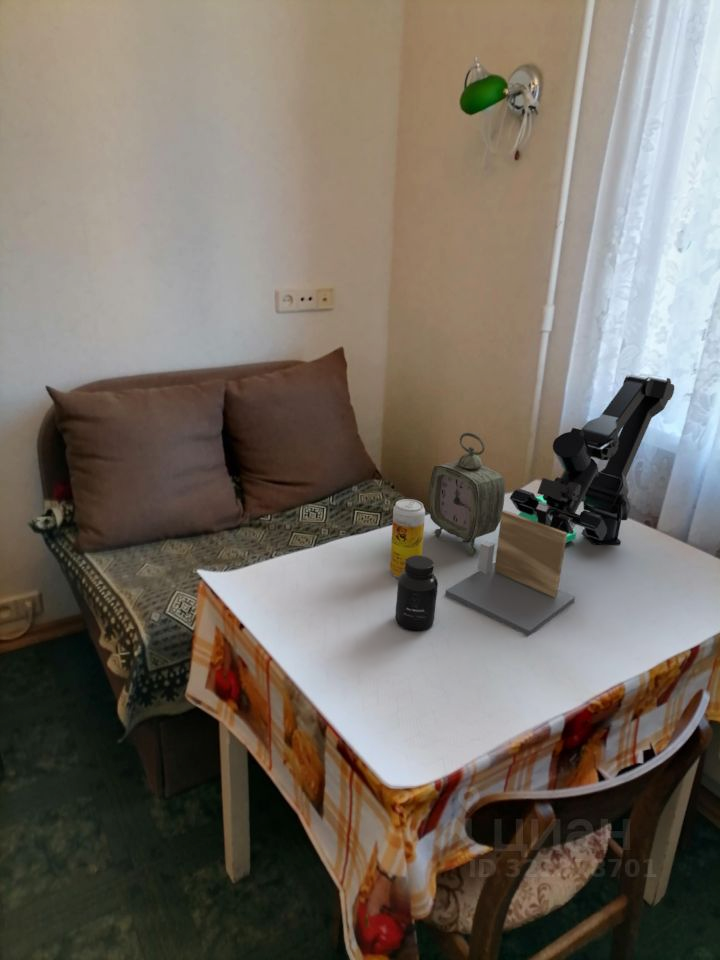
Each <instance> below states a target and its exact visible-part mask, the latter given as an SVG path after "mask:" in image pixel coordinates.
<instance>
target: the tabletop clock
mask: <svg viewBox="0 0 720 960" xmlns="http://www.w3.org/2000/svg"><path fill="white" fill-rule="evenodd" d="M464 437H471V438H474V439H476V440H477V441H479V443H480V445H481V447H482V448H481V451H476V450H475V447H474V446H469V447H467V446H465V445H464V444H463V439H464ZM459 445H460V446H461V448H462V449H463V450H464V451H465V452H467V453H466V454H462V455H461V456H460V457H459V460H458V459H457V460H455V461H450V462H447V463H443V464H438V465H435V466H434V467H433V469H432V472H431V477H430V483H429V490H428V511H429V517H430V519H431V521H432V522H433V523H434V524H435V525H436V526H438V527H439V528H436V529H435V530H434V532H433V533H434V535H435V536H436V537H439V536H441V535H442V531H443V530H444V531H445V532H447V533H449V534H450V535H453V536H456V537H457V538H459V539H462V540H465V541H466V540H467V541H470V548H469V549H468V554H469V555H470V556H474V555H476V554H477V549H476V547H475V541H476V539H477V538H479V537H482V536H485V535H488V534H491V533H495V531H496V530H497V528H498V526H499V525H500V521H501V513H502V511H504V506H505V504H504V503H505V494H506V483H505V478H504V477H503V475H502V474H501V473H499V472H497V471H496V470H493V469H492V468H489V467H487V466H485V465H483V462H482V458H480V456H478V455H482V454H483V453H484V452H485V448H486V446H485V443H484V441H483V439H482V438H481V437H480V436H478V435H477V434H474V433H472V432H465V433H462V434H461V436H460V437H459Z"/></svg>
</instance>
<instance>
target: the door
mask: <svg viewBox="0 0 720 960" xmlns="http://www.w3.org/2000/svg"><path fill="white" fill-rule="evenodd" d="M498 529H499V530H498V539H497V547H496V554H495V562H494V563H495V570H494V571H495V572H497V573H500V574H502V575H504V576H506V577H509V578H511V579H513V580H515V581H518V582H520V583H522V584H525V585H527V586H529V587H531V588H534V589H536V590H538V591H541V592H543V593H545V594H547V595H550V596H552V597H556V596H557V593H558V590H559V586H560V585H559V584H560V579H561V573H562V568H563V561H564V555H565V548H566V538H567V533H566V532H563V531H561V530H558V529H555V528H552V527H550V526H547V525H544V524H541V523H539V522H536V521H533V520H530V519H528V518H525V517H522V516H519V514H517V513H514V512H511V511H508V510H505V509H503V511H502V513H501V520H500V523H499V528H498Z"/></svg>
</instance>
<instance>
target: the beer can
mask: <svg viewBox="0 0 720 960" xmlns="http://www.w3.org/2000/svg"><path fill="white" fill-rule="evenodd" d="M423 503H424V502H423ZM423 503H422V502H421V501H419V500H417V499H414V498H413V499H412V498H405V499H400V500H398V501H396V502H395V505H394V506H393V508H392V509H393V511H392V512H393V513H392V526H391V530H392V531H391V543H390V544H391V545H390V561H389V562H390V564H389V570H390V572H391V573H392V575H393V576H394V577H395V578H396V579H399V576H400V575H401V573H402V572H404V571H405V564H406V560H407V558H409V557H411V556H423V543H424V531H425V520H426V519H425V518H426V517H425V515H426V509H425V507H424V504H423Z"/></svg>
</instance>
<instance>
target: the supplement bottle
mask: <svg viewBox="0 0 720 960" xmlns="http://www.w3.org/2000/svg"><path fill="white" fill-rule="evenodd" d="M434 567H435V564H434V561H433V559H431V558H430V557H427V556H424V555H422V556H411V557H409V558H407V560H406V564H405V571H404V572H402V573H401V575H400V576H399V578H397V579H398V580H397V591H396V601H395V602H396V604H395V622H396V624H397V625H398V626H399V627H400V628H401V629H403V630H405V631H408V632H412V633H413V632H414V633H415V632H416V633H421V632H425V631H427V630H429V629H431V628H432V626H433V625H434V622H435V615H436V606H437V605H436V604H437V597H438V595H437V594H438V586H439V585H438V584H439V581H438V578H437V577H436V575H435V574H434V572H435V571H434Z"/></svg>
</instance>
